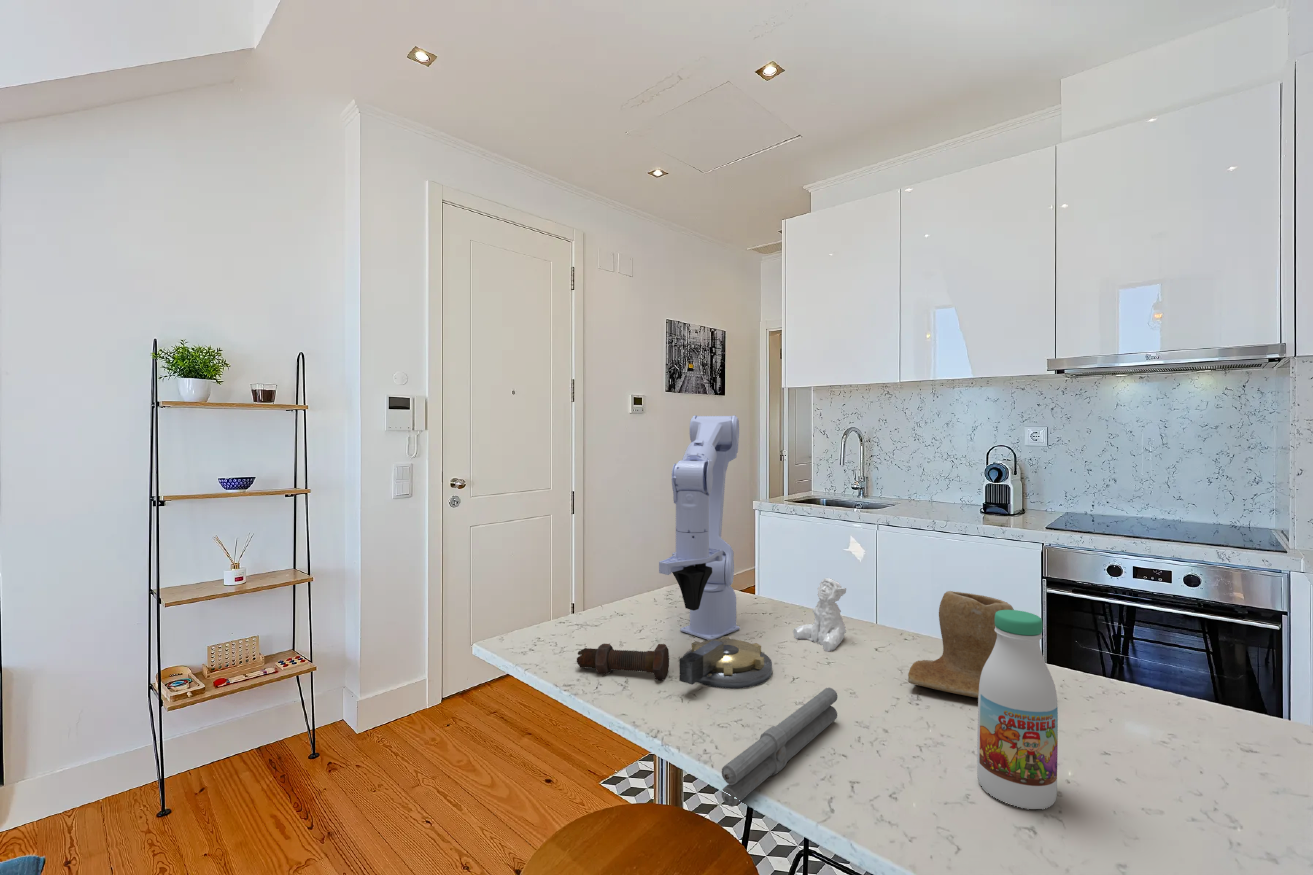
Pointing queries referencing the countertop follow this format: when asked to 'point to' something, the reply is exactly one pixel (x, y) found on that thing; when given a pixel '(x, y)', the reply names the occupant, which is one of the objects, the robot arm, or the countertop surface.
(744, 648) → the brass turntable dial
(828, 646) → the seated beast figurine
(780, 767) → the metal rod assembly
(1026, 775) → the milk bottle
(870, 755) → the countertop surface
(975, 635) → the brown boot
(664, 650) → the bolt
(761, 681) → the disc
